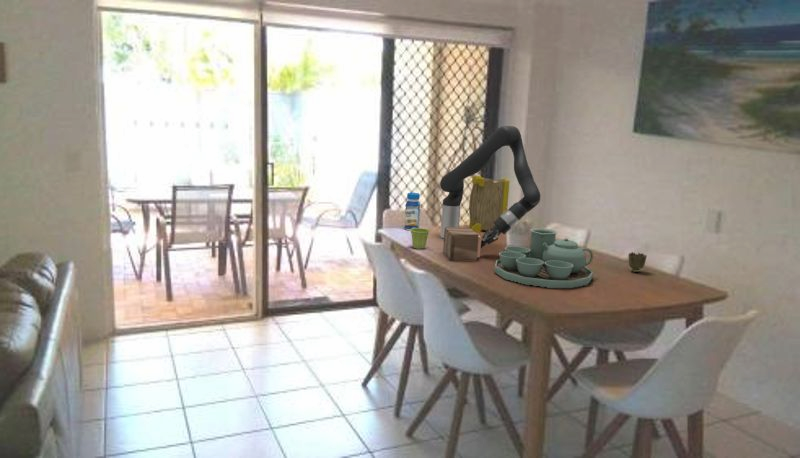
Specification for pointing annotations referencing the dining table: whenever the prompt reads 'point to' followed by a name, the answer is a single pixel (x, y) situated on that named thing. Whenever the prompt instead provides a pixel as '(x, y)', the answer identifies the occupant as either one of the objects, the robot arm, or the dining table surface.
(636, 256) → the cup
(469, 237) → the brown box with drawer
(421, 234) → the plant pot
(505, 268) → the tea set
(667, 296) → the dining table surface
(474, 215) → the decorative book
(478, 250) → the salmon pink block
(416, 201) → the beverage bottle
